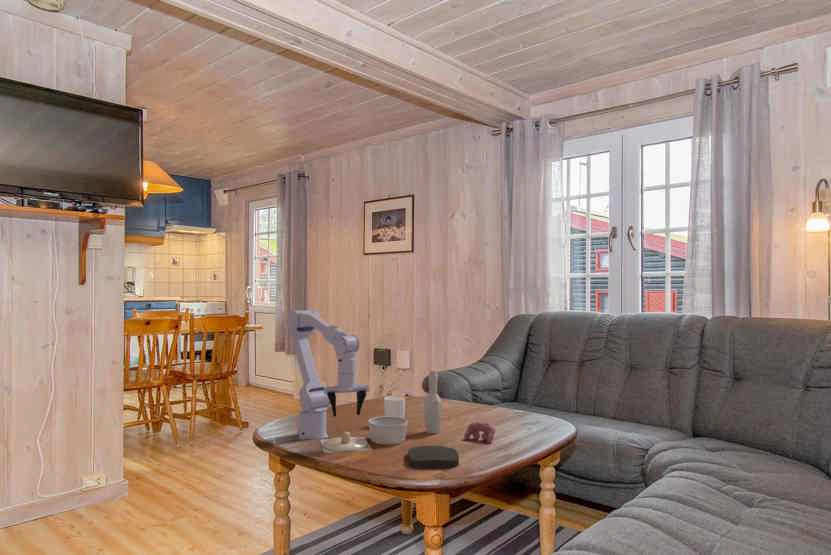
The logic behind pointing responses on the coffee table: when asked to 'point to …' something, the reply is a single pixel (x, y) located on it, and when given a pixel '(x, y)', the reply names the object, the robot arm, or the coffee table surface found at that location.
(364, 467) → the coffee table surface
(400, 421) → the ramekin
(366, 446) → the mat
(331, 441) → the lid
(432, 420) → the low poly bottle
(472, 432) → the video game controller
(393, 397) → the white cup
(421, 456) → the media streaming box
